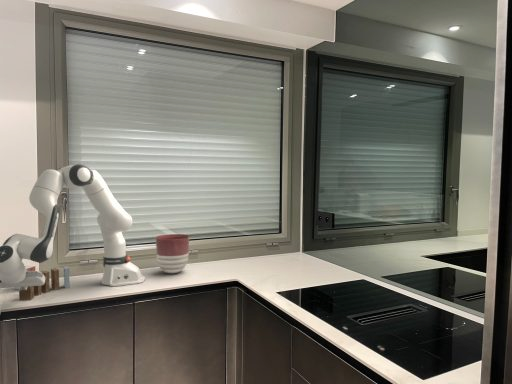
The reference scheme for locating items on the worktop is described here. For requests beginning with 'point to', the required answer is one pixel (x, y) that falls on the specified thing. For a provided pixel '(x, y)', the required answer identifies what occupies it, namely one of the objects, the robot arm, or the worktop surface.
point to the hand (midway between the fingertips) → (23, 288)
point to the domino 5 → (66, 277)
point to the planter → (172, 252)
